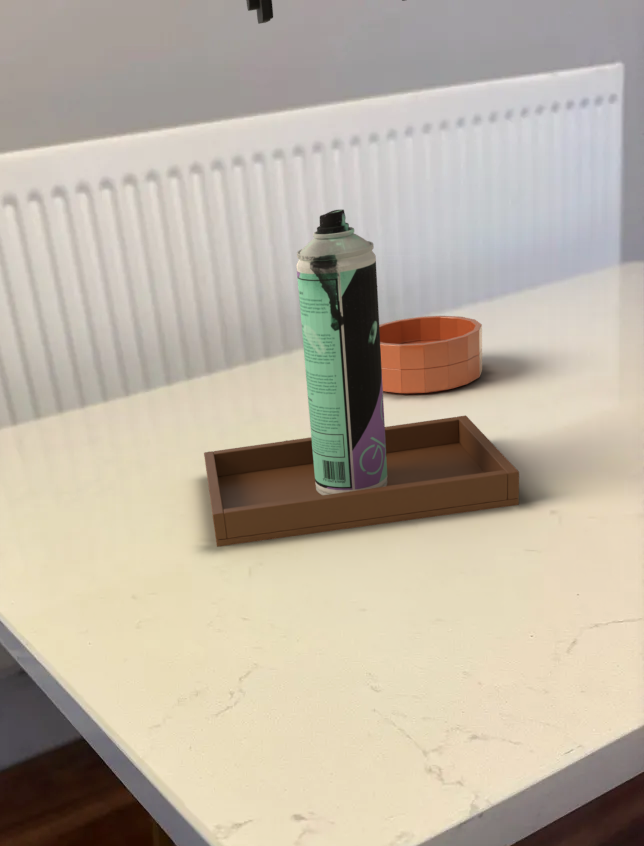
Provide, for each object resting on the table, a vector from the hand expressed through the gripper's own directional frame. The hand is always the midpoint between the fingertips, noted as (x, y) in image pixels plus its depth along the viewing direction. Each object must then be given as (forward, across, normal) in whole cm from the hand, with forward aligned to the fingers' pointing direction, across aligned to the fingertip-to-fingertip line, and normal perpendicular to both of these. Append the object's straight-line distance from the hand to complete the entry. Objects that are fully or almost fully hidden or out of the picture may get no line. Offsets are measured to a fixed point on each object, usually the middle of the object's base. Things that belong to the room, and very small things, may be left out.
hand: (337, 10), depth 68 cm
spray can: (+32, +2, +4) cm, 32 cm away
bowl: (+33, -10, -23) cm, 41 cm away
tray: (+32, +2, +4) cm, 33 cm away
